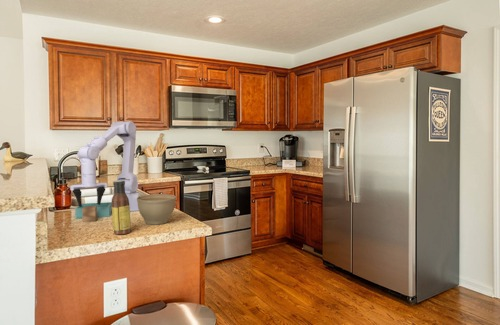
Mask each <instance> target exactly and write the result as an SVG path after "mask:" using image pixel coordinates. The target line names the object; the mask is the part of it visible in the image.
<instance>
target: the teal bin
mask: <svg viewBox="0 0 500 325" xmlns="http://www.w3.org/2000/svg"><path fill="white" fill-rule="evenodd" d="M81 204H82V206H81V207H79V206H78V205H77V206H76V207H75V208H74V211H75V216H74V217H75V219H83V213H82V208H83V207H85V206H97V218H104V217H105V218H107V217H110V216H111V214H112V201H111V202H101V204H100V205H98V204H97V202H93V203H92V202H90V203H86V202H85V203H81Z"/></svg>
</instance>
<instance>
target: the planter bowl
mask: <svg viewBox="0 0 500 325" xmlns="http://www.w3.org/2000/svg"><path fill="white" fill-rule="evenodd" d="M176 200H177V196H176V195H174V194H167V193H166V194H164V193H163V194H162V193H155V194H144V195H139V197H137V203H138V209H139V213H140V216H141V217H142V218H143V219H144V223H145V224H147V225H162V224H167V223H168V222H169V220H170V218H171V217H172V215H173V213H174V210H175V208H176Z"/></svg>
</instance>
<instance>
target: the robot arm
mask: <svg viewBox="0 0 500 325" xmlns="http://www.w3.org/2000/svg"><path fill="white" fill-rule="evenodd" d="M136 134H137V125H136V124H135V123H134V121H132V120H129V121H127V120H126V121H124V120H123V121H119V120H118V121H116V120H115V121H113V122H112V123H111V124H110V127H108V129H106V131H105V132H104V133H103V134H101V135H97V136H94V137H93V139H91V141H90V142H88V143H86V145H85V146H81V147H80V148H79V149H78V151H77V153H76V154H77V158H79V163H80V172H81V173H80V175H81V184H73V185H69V190H70V191H72V193H73V195H74V196H75V199H76V201H77V204H78V205H77V207H78V206H79V207H81V206H82V204H83V203H82V191H81V190H90V189H92V190H93V189H96V195H97V196H96V198H97V199H96V203H97V204H98V205H100V204H101V203H102V198H103V197H104V193H105V192H106V189H107V188H108V183H107V182H97V163H96V162H97V161H96V160H97V159H98V158H99V155H100V153H101V151H103V150H104V149H105V148H106V147H107V146H108V142H109V141H111V140H112V139H113V138H114V137H115V136H118V137H119V138H120V139H122V141H123V149H122V151H123V152H122V163H121V173H119V174H118V175H117V178H116V181H118V180H124V181H125V193H126V195H127V197H128V199H129V206H130V212H138V211H139V209H138V203H137V197H139V196H140V192H137V190H138V189H139V182H138V176H137V175H135V174H134V165H135V151H136V141H137V140H136V137H137V135H136Z"/></svg>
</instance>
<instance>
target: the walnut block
mask: <svg viewBox="0 0 500 325" xmlns="http://www.w3.org/2000/svg"><path fill="white" fill-rule="evenodd" d="M82 213H83V218H82V223H93V222H97V221H98V217H97V206H85V207H83V208H82Z"/></svg>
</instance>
